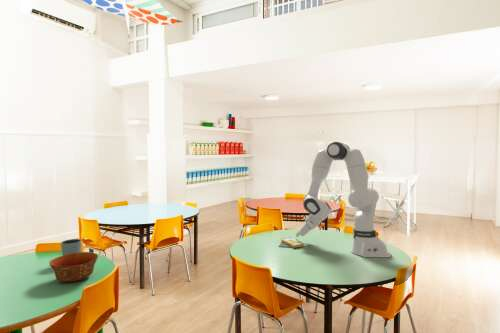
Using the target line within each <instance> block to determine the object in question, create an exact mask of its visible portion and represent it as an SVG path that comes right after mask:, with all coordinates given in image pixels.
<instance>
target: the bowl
mask: <svg viewBox="0 0 500 333" xmlns="http://www.w3.org/2000/svg"><path fill="white" fill-rule="evenodd" d="M98 259H99V254H97V253H95V252H90V251H86V252H85V251H83V252H82V251H81V252H80V253H71V254H66V255H60V256H57V257H55V258H53V259H51V260H50V261H49V262H48V263H49V266H50V268H52V270H53V273H54V275H55V278H56V280H57V281H60V282H64V283H65V282H68V283H69V282H76V281H80V280H83V279H85V278H88V277H89V276H91V275H92V274H93V272H94V270H95V264H96V262H97V260H98Z"/></svg>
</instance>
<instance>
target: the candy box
mask: <svg viewBox="0 0 500 333" xmlns="http://www.w3.org/2000/svg"><path fill="white" fill-rule="evenodd" d="M295 239H296V238H293V237H288V238H284V239H283V238H282V239H280V241H281V242H283V243H286V244H288V245H290V246H292V247H294V249H295V248H301V247H305V245H306V244H305V243H304V242H302V241H300V240H298V239H297V240H295ZM281 242H280V243H281Z"/></svg>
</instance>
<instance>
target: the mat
mask: <svg viewBox="0 0 500 333" xmlns="http://www.w3.org/2000/svg"><path fill="white" fill-rule="evenodd" d="M282 239H285V238H282ZM294 239H295V240H298V238H294ZM278 248H290V249H291V248H292V249H293V248H294V247H292V246H290V245H288V244H286V243H283V242H280V244H279V245H278ZM294 249H295V248H294Z"/></svg>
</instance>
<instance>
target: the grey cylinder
mask: <svg viewBox="0 0 500 333" xmlns="http://www.w3.org/2000/svg"><path fill="white" fill-rule="evenodd" d="M60 247H61V253H62V255H61V256H63V255H66V254H71V253H80V252H82V239H80V238H72V239H67V240H66V239H65V240H63V241H61V242H60Z"/></svg>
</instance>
